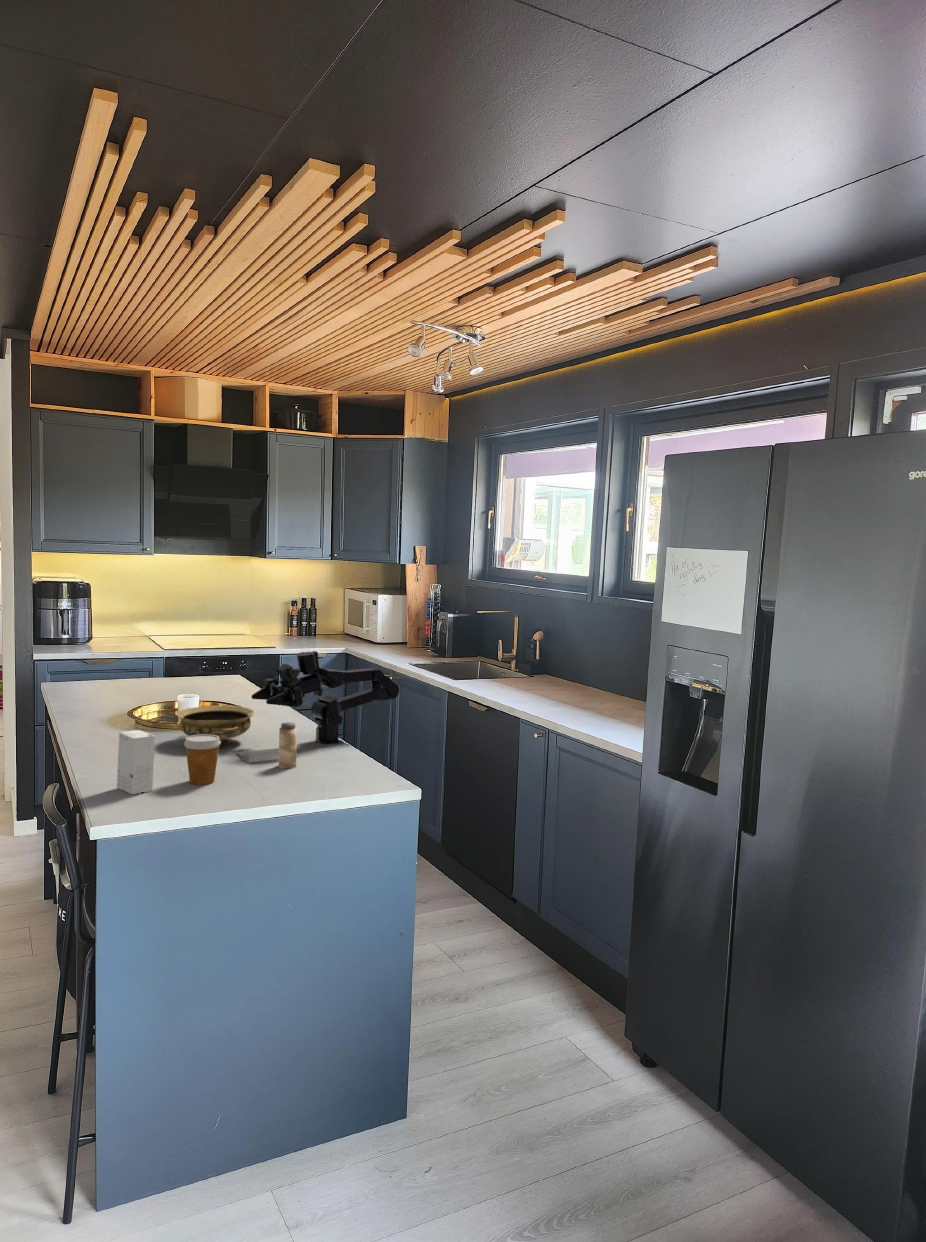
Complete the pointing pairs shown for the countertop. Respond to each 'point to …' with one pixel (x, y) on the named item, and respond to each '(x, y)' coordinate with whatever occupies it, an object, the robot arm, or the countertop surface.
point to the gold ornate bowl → (216, 721)
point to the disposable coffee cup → (202, 757)
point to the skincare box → (135, 761)
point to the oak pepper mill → (287, 745)
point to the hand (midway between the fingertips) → (259, 699)
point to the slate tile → (260, 755)
